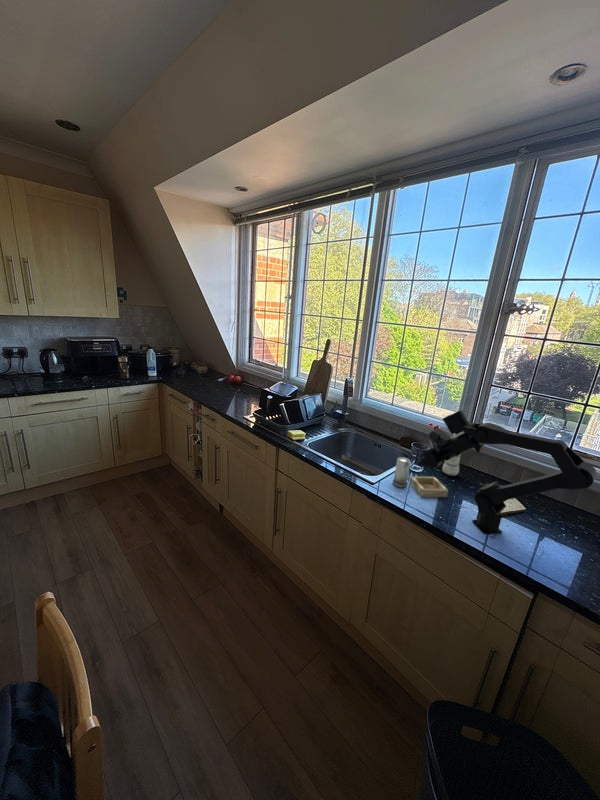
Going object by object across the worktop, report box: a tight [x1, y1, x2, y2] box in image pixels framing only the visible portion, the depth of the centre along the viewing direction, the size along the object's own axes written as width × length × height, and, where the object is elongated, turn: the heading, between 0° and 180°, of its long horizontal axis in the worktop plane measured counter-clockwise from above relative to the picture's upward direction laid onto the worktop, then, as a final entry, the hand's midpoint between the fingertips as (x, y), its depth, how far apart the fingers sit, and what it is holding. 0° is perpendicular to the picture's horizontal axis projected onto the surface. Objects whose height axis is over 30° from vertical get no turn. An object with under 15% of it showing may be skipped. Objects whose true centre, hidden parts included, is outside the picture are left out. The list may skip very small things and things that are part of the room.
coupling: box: [392, 456, 411, 489], centre depth 129 cm, size 7×6×11 cm
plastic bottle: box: [442, 431, 464, 477], centre depth 140 cm, size 6×7×20 cm
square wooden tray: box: [409, 476, 449, 498], centre depth 128 cm, size 10×10×3 cm
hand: (424, 461), depth 121 cm, fingers open, 9 cm apart
